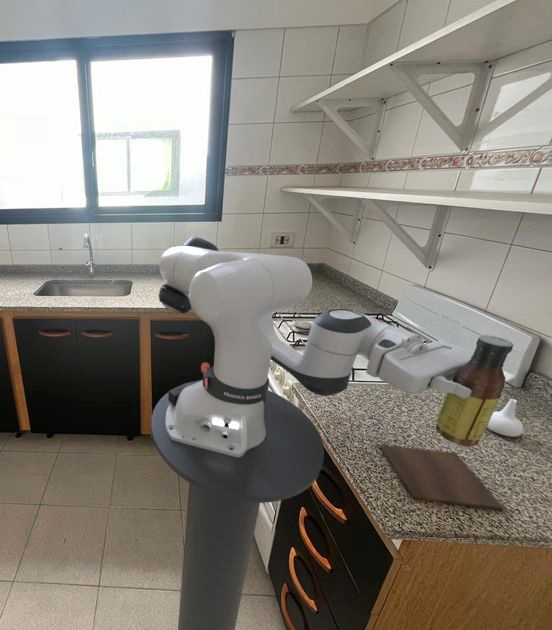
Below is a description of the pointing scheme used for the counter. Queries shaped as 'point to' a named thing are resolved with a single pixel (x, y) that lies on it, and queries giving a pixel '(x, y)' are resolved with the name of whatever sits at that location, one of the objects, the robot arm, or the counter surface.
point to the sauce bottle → (475, 393)
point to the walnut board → (439, 477)
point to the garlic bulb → (506, 421)
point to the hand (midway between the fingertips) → (483, 389)
